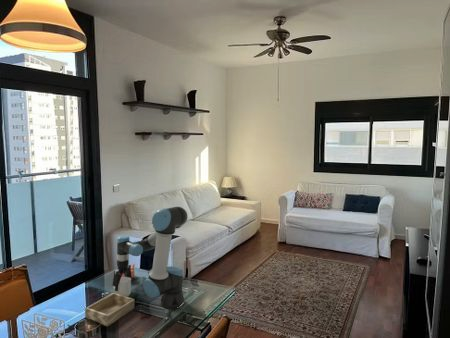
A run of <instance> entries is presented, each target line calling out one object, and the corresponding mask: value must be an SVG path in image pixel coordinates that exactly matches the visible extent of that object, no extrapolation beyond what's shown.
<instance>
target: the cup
mask: <svg viewBox="0 0 450 338" xmlns="http://www.w3.org/2000/svg"><path fill="white" fill-rule="evenodd" d="M131 287H132V279H131V278H129V277H122V278H121V279H120V282H119V295H122V296H126V297H129V296H130V295H131V293H132V292H131V291H132V290H131ZM112 288H113V290H114V291H115V286H112Z"/></svg>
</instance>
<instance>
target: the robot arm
mask: <svg viewBox="0 0 450 338" xmlns="http://www.w3.org/2000/svg"><path fill="white" fill-rule="evenodd" d="M188 218H189V217H188V212H187V211H186V209H184V208H183V207H182V206H174V207H168V208H161V209H158V210H156V211H155V212H154V213H153V215H152V219H151V224H152V227H153V229H154V231H153V232H152V233H151V234H150V235H149V236H148V237H147V238H145V239H142V240H137V241H131V240H130V236H128V235H119V236H118V237H117V242H116V244H117V245H116V246H117V247H116V267H117V269H116V270H113V278H112V284H111V285H112V287H113V286H115V290H114V291H115V292H114V293H116V294H119V282H120V279H121V276H122V275H123V273H124V276H125V277H129V278H132V277H131V266H132V264H129V263H130V260H129V259H130V256H132V257H139V256H141V255H142V254H143V253H145V252H147V251H151V250H154V254H153V261H152V268H151V269H152V270H151V269H150V270H151V271H150V270H149V271H150V272H149V271H148V272H149V274H148V277H147V278H146V279H145V280H143V285H142V287H143V291H144V292H145V294H146V295H147V297H149V298H151V299H155V298H157V297H159V296H161V298H160V306H161V307H162V308H164V309H168V310H176V309H175V308H177V307H179V306H180V305H181V304H182V303H183V302H184V303H185V301H184V300H185V297H184V293H183V280H184V270H183V269H182V268H181V267H178V266H168V265H169V263H168V262H169V256H170V250H171V243H172V242H171V241H172V237H173V235H174V234H175V233H176V229H180V228H181V227H183V226H184V225H185V224H186V222H187V221H188ZM119 273H120V274H119ZM132 279H133V278H132ZM177 309H178V308H177Z"/></svg>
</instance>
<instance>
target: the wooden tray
mask: <svg viewBox="0 0 450 338" xmlns="http://www.w3.org/2000/svg"><path fill="white" fill-rule="evenodd" d="M135 302H136V301H135V299H134V298H132V297H129V296H127V297H126V296H122V295H119V294H116V293H115V292H112V293H109V294H108V295H106V296H105V297H103V298H100V299H99V300H98V301H96V302H94V303H92V304H90V305H89V306H86V307H85V308H84V319H86V320H88V319H92V320H94V321H96V322H98V323H97V324H99V323H100V324H99V325H102V326H104V327H109V326H112V324H114V323H115V322H117V321H118V320H120V319H121V318H123V317H125V316H126V315H127V314H129V313H130V312H132V311H133V310H134V309H135V304H136V303H135ZM94 321H93V322H94ZM96 322H95V323H96Z"/></svg>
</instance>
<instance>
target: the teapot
mask: <svg viewBox="0 0 450 338" xmlns="http://www.w3.org/2000/svg"><path fill="white" fill-rule="evenodd" d="M135 265H136V262H135V263H133V264H132V265H131V277H132V278H131V280H133V278H134V277H135V275H136V274H135ZM119 274H120V273H119ZM122 277H125V276H124V273H123V275H122V276H121V278H122Z"/></svg>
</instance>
